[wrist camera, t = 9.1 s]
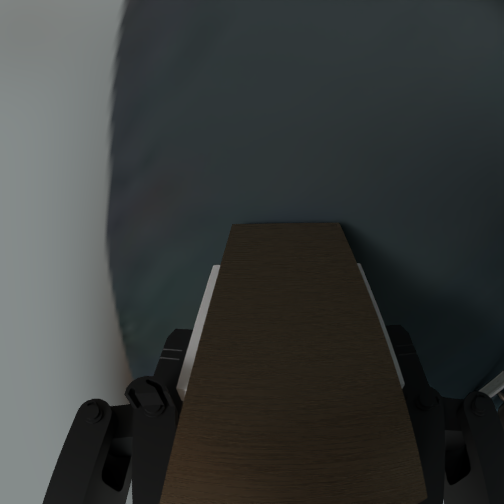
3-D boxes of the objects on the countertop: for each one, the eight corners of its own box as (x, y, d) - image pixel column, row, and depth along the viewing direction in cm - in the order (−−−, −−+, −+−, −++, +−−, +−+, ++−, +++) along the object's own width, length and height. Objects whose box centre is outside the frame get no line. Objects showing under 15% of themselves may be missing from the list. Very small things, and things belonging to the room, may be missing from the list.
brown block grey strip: (232, 224, 14) (158, 507, 4) (339, 222, 14) (427, 497, 3) (256, 448, 26) (247, 550, 16) (304, 448, 26) (304, 550, 16)
